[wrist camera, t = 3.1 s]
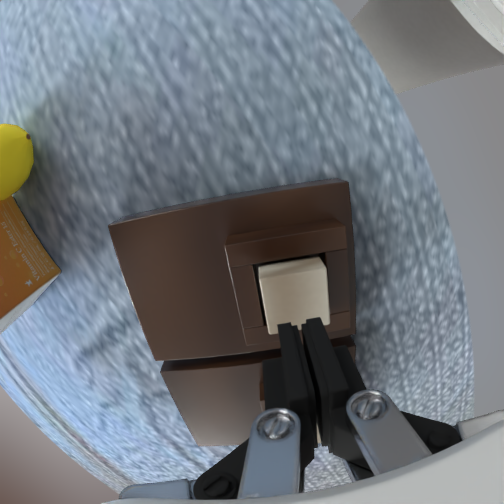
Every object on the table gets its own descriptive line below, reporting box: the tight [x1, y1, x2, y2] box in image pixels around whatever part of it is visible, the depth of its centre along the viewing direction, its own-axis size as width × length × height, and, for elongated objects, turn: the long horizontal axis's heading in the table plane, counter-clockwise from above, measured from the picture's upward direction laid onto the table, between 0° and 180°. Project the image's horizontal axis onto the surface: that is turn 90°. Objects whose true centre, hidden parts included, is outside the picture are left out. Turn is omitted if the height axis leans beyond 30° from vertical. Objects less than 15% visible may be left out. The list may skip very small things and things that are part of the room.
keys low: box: [108, 178, 356, 361], centre depth 17 cm, size 14×10×4 cm
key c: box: [258, 256, 330, 334], centre depth 15 cm, size 3×3×2 cm
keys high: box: [160, 335, 356, 446], centre depth 21 cm, size 14×10×4 cm
